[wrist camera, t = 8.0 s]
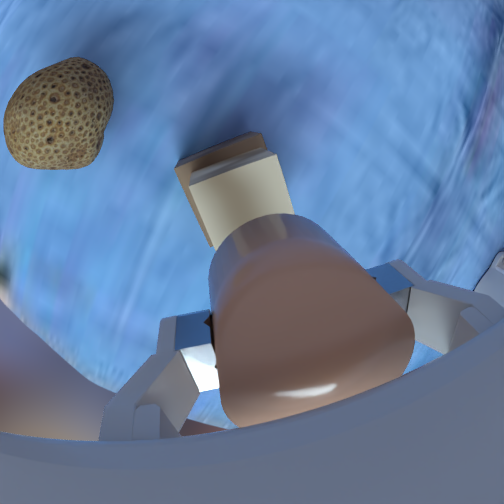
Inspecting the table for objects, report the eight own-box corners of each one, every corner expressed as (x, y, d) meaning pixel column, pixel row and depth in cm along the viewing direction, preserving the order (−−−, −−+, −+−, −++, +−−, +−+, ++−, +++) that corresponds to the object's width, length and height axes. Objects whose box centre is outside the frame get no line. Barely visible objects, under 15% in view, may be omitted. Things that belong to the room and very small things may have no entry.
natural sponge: (75, 53, 19) (22, 31, 10) (146, 91, 22) (116, 75, 13) (31, 136, 21) (-31, 150, 12) (96, 176, 24) (49, 206, 15)
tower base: (250, 131, 25) (261, 133, 21) (275, 199, 28) (289, 214, 24) (178, 160, 25) (174, 168, 21) (208, 226, 29) (210, 247, 24)
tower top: (260, 147, 21) (276, 154, 17) (281, 211, 24) (300, 234, 19) (191, 172, 21) (188, 186, 17) (217, 235, 24) (221, 264, 19)
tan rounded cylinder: (334, 201, 10) (430, 269, 5) (338, 312, 12) (397, 401, 7) (193, 231, 9) (191, 336, 5) (225, 341, 11) (243, 451, 7)
